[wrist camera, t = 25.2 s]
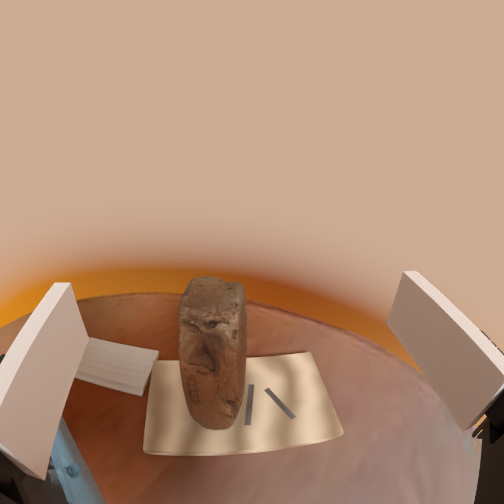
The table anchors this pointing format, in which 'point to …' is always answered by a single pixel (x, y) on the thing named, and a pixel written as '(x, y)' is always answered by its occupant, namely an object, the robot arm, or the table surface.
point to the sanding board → (244, 411)
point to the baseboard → (116, 366)
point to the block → (213, 350)
